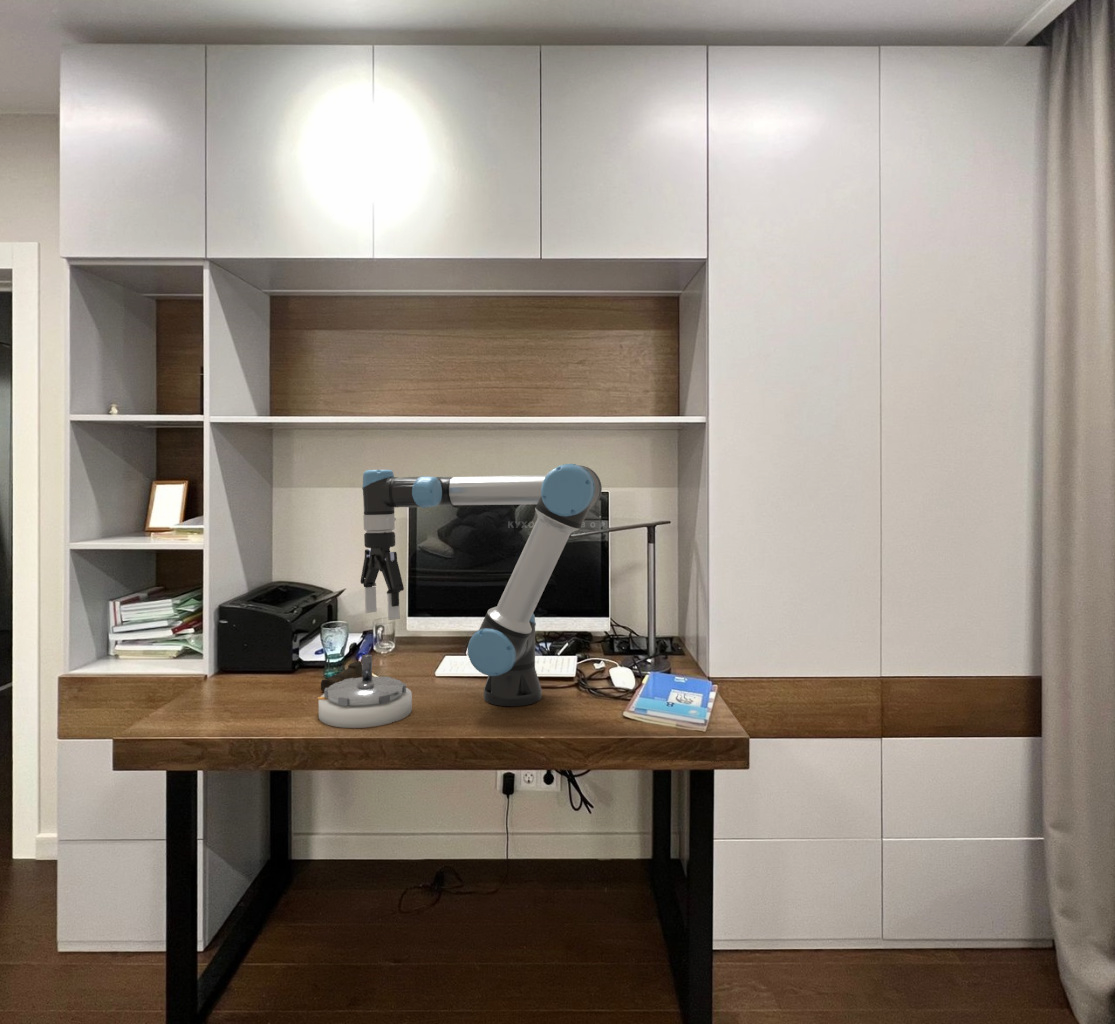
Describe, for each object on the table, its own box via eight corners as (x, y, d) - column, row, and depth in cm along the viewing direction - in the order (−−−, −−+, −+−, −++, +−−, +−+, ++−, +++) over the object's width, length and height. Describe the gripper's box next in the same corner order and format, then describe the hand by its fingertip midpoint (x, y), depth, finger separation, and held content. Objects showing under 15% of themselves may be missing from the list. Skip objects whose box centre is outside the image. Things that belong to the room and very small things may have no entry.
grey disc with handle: (406, 703, 166) (406, 670, 166) (320, 709, 162) (320, 674, 162) (405, 682, 184) (405, 651, 183) (328, 686, 179) (328, 655, 179)
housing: (427, 703, 180) (427, 686, 180) (381, 732, 159) (381, 713, 159) (353, 695, 187) (352, 679, 186) (299, 722, 166) (298, 703, 166)
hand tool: (333, 694, 188) (333, 677, 188) (320, 693, 189) (320, 676, 189) (370, 676, 206) (370, 660, 206) (358, 674, 207) (358, 659, 207)
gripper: (416, 532, 169) (418, 620, 170) (373, 528, 189) (375, 607, 189) (387, 534, 164) (389, 624, 165) (346, 530, 184) (348, 611, 185)
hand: (382, 615), depth 177 cm, fingers open, 13 cm apart
